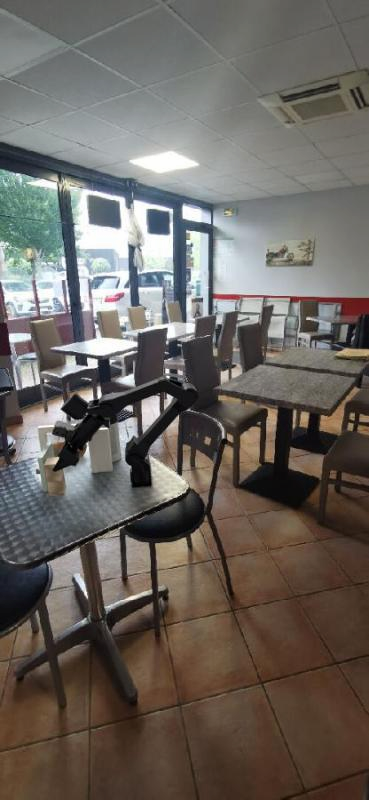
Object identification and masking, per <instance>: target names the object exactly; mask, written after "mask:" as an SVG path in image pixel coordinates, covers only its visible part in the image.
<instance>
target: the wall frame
mask: <svg viewBox="0 0 369 800" xmlns="http://www.w3.org/2000/svg"><path fill="white" fill-rule="evenodd" d="M70 424H71V425H73V426H75V425H76V424H77V423H70ZM54 426H55V424H54V425H53V424H52V425H51V424H50V425H39V426H38V427H37V433H38V434H37V435H38V442H39V447H40V453H41V452H42V450H43V448H44V447H45V445H46V444H47V442H49V440H48V435H47V434H49V433H51V434H52V432H53V429H54ZM87 444H88V445H87V446H88V451H89V461H90V467H91V474H98V473H103V472H104V473H105V472H113V470H114V468H113V467H114V465H113V462H112V457H111V448H110V439H109V430H108V428H100V429H99V430H98V431H97V432H96V433H95V435H94V436H93V437H92V440H91V441H88V442H87Z"/></svg>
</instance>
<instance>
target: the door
mask: <svg viewBox="0 0 369 800" xmlns="http://www.w3.org/2000/svg"><path fill="white" fill-rule="evenodd" d="M53 444H54V443H53V441H48V442H47V444H46V445H45V447H44V448H43V450H42V452H41V451H40V453H39V455H38V456H37V463H38V468H37V469H35V474H36V475H40V481H41V486H42V491H43V492H49V491H48V485H47V480H46V474H45V468H44V464H45V462H46V460H47V458H52V457H54V451H53Z"/></svg>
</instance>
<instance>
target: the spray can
mask: <svg viewBox="0 0 369 800" xmlns="http://www.w3.org/2000/svg"><path fill="white" fill-rule="evenodd" d="M118 421H119V420H118V413H117V414H116V415H114V416H112V417H110V428H108V430H109V439H110V448H111V457H112V463H115V462H117V461H120V460H121V459H122V452H121V451H122V450H121V440H120V430H119V422H118ZM101 428H107V427H105V426H104V425H103V426H102V427H101Z"/></svg>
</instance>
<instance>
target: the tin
mask: <svg viewBox="0 0 369 800" xmlns="http://www.w3.org/2000/svg"><path fill="white" fill-rule="evenodd" d="M64 443H65V439H63V440H62V439H61V440H59V441H57V442H55V443H52V444H53V451H54V457H58V452H59V450H60V449H61V447H62V446H63V445H64ZM87 444H88V443H87ZM87 444H86V445H85V446H84V449H83V450H82V451H81V450H79V449H78V450H77V451H78V452H79V453H80V459H81V458H82V457H84V455H85V454H86V452H87V447H88V445H87Z"/></svg>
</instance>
